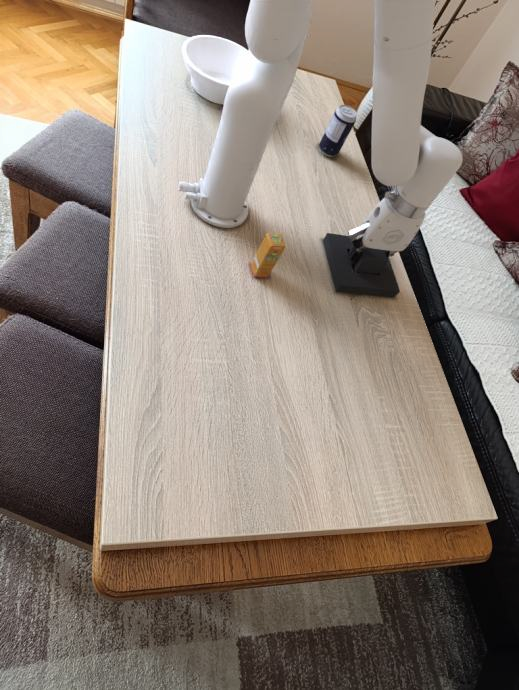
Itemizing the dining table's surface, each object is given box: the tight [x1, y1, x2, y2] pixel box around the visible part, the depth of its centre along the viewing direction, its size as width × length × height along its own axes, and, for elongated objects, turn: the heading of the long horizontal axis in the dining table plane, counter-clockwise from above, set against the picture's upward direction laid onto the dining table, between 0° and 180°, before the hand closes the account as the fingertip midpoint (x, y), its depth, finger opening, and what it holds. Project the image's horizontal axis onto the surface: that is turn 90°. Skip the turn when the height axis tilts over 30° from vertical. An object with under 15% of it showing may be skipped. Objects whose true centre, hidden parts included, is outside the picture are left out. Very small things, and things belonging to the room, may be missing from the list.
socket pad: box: [322, 232, 401, 299], centre depth 112 cm, size 15×15×2 cm
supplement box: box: [250, 232, 286, 278], centre depth 99 cm, size 3×3×10 cm
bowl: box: [181, 34, 249, 106], centre depth 128 cm, size 21×21×8 cm
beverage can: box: [318, 104, 358, 158], centre depth 128 cm, size 6×6×12 cm
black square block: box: [349, 242, 388, 275], centre depth 109 cm, size 6×6×4 cm
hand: (364, 261), depth 110 cm, fingers closed on black square block, 5 cm apart
